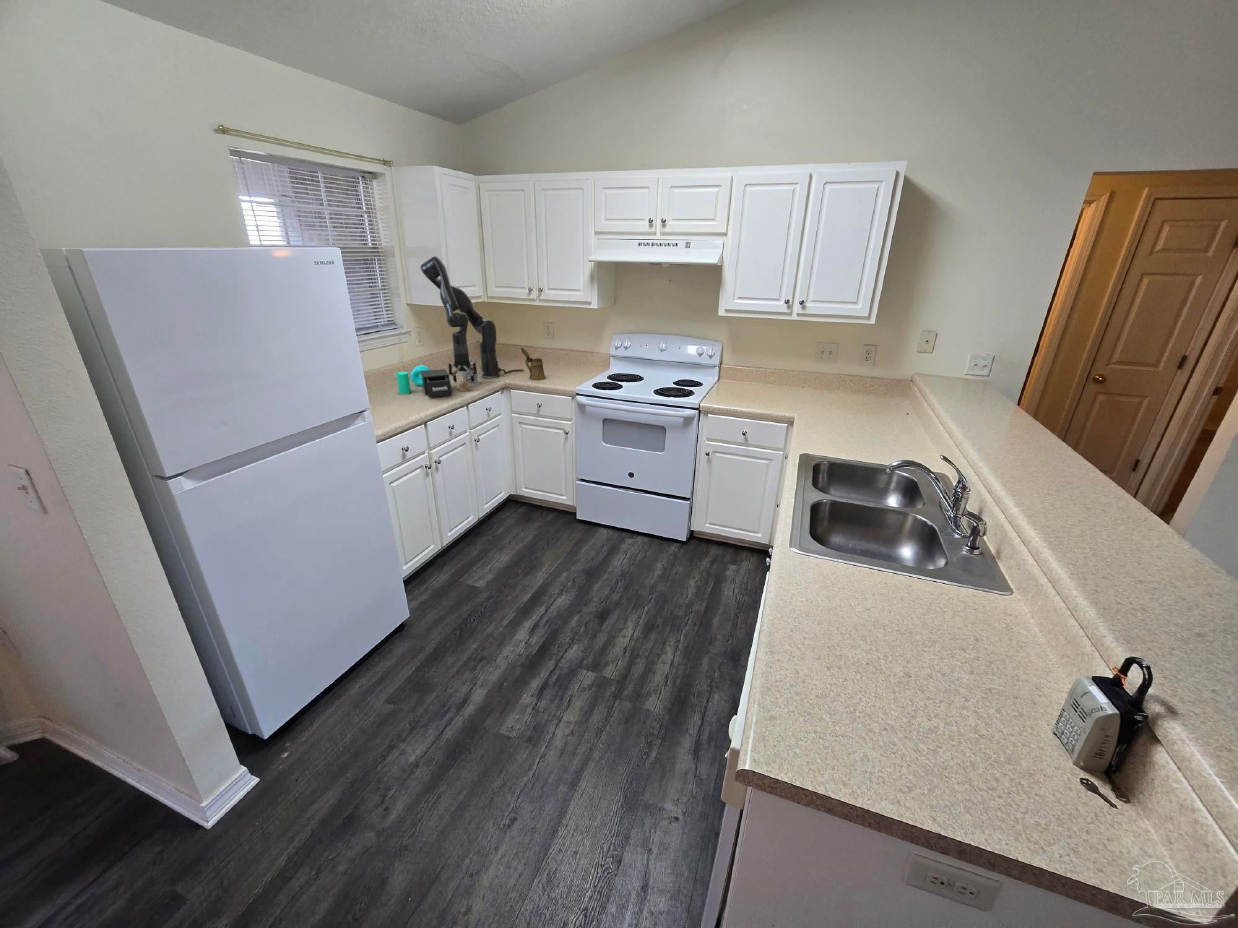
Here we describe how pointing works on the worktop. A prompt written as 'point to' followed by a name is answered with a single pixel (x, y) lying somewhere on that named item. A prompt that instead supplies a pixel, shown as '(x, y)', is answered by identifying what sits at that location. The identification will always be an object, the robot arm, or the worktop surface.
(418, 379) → the donuts
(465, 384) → the block
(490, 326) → the robot arm
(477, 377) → the french press
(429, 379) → the drawer
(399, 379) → the candle
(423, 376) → the box
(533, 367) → the wooden mug
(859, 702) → the worktop surface
